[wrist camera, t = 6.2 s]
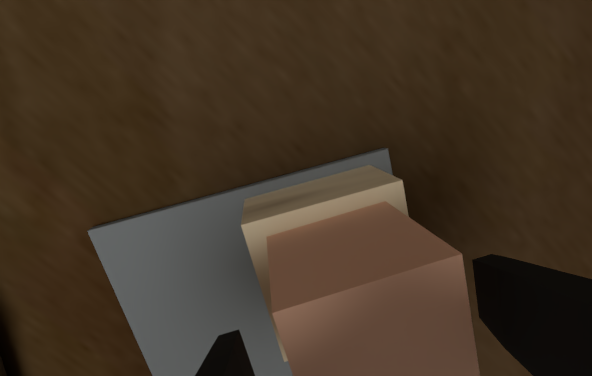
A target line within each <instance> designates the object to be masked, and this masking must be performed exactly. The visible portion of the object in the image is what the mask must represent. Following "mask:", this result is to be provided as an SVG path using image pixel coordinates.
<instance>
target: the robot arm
mask: <svg viewBox="0 0 592 376" xmlns="http://www.w3.org/2000/svg"><path fill="white" fill-rule="evenodd" d="M472 261H473V270H474V278H475V286H476V295H477V303H478V311H479V318H480V319H481V320H482V321H483V322H484V324H485V325H486V326H487V327H488V329H489V330H490V331H491V332H492V334H493V335H494V336H495V337H496V338H497V340H498V341H499V342H500V343H501V344H502V345H503V347H504V348H505V349H506V350H507V351H508V352H509V353H510V354H511V355H512V356H513V357H514V358H515V359H517V360H518V361H519V362H520V363H521V364H522V365H523V366H524V367H525V368H526V369H527V370H528V371H529V372H530V373H531V374H532V375H533V376H592V279H588V278H584V277H580V276H577V275H573V274H569V273H565V272H561V271H557V270H554V269H550V268H546V267H542V266H539V265H535V264H531V263H527V262H523V261H519V260H515V259H512V258H507V257H503V256H498V255H493V254H490V255H487V256H484V257H480V258H477V259H474V260H472ZM195 376H255V374H254V371H253V368H252V365H251V362H250V359H249V356H248V354H247V351H246V348H245V345H244V342H243V339H242V336H241V334H240V331H239V329H238V330H235V331H232V332H228V333H225V334H222V335H218V337H217V339H216V340H215V342H214V344H213V345H212V347H211V349H210V351H209V352H208V354H207V356H206V357H205V359H204V361H203V363H202V364H201V366H200V368H199V370H198V371H197V373H196V375H195Z"/></svg>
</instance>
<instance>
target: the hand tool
mask: <svg viewBox="0 0 592 376" xmlns="http://www.w3.org/2000/svg"><path fill="white" fill-rule="evenodd" d="M0 376H7V374H6V371H5V368H4V365H3V362H2V359H1V357H0Z"/></svg>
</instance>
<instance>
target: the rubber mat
mask: <svg viewBox="0 0 592 376" xmlns="http://www.w3.org/2000/svg"><path fill="white" fill-rule="evenodd" d="M367 165H371V166H373V167H375V168H378V169H380V170H382V171H384V172H386V173H388V174H391V175H393V174H392V169H391V163H390V158H389V152H388V149H387V148H381V149H377V150H374V151H370V152H366V153H363V154H359V155H355V156H352V157H348V158H344V159H341V160H337V161H333V162H330V163H326V164H322V165H319V166H315V167H311V168H308V169H304V170H300V171H297V172H293V173H289V174H286V175H282V176H278V177H275V178H271V179H267V180H264V181H260V182H256V183H253V184H249V185H245V186H242V187H238V188H234V189H231V190H227V191H223V192H220V193H216V194H212V195H209V196H205V197H201V198H198V199H194V200H190V201H187V202H183V203H179V204H176V205H172V206H168V207H165V208H161V209H157V210H154V211H150V212H146V213H143V214H139V215H135V216H132V217H128V218H124V219H121V220H117V221H113V222H110V223H106V224H102V225H99V226H95V227H92V228H91V229H89V230H88V231H87V232H88V234H89V236H90V238H91V240H92V243H93V245H94V247H95V249H96V252H97V254H98V256H99V258H100V260H101V263H102V265H103V267H104V269H105V271H106V274H107V276H108V278H109V280H110V283H111V285H112V287H113V289H114V291H115V294H116V296H117V298H118V300H119V302H120V305H121V307H122V309H123V311H124V314H125V316H126V318H127V320H128V322H129V325H130V327H131V329H132V331H133V333H134V336H135V338H136V340H137V342H138V345H139V347H140V349H141V351H142V353H143V356H144V358H145V360H146V362H147V364H148V367H149V369H150V371H151V373H152V376H195V375H196V373H197V371H198V370H199V368H200V366H201V364H202V363H203V361H204V359H205V357H206V356H207V354H208V352H209V351H210V349H211V347H212V345H213V344H214V342H215V340H216V339H217V337H218V335H222V334H225V333H228V332H232V331H235V330H238V329H239V331H240V334H241V336H242V339H243V342H244V345H245V348H246V351H247V354H248V356H249V359H250V362H251V365H252V368H253V371H254V374H255V376H293V374H292V371H291V368H290V365H289V362H288V361H286V362H284V360H283V357H282V353H281V350H280V347H279V344H278V341H277V338H276V335H275V331H274V328H273V325H272V322H271V319H270V316H269V312H268V309H267V306H266V303H265V300H264V297H263V293H262V290H261V287H260V284H259V281H258V278H257V275H256V271H255V268H254V265H253V262H252V259H251V256H250V252H249V249H248V246H247V243H246V240H245V237H244V233H243V230H242V227H241V221H242V214H243V207H244V200H245V199H247V198H251V197H254V196H258V195H262V194H265V193H269V192H272V191H276V190H280V189H283V188H287V187H291V186H294V185H298V184H301V183H305V182H309V181H312V180H316V179H320V178H323V177H327V176H331V175H334V174H338V173H341V172H345V171H349V170H352V169H356V168H360V167H363V166H367Z"/></svg>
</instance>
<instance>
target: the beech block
mask: <svg viewBox="0 0 592 376" xmlns="http://www.w3.org/2000/svg"><path fill="white" fill-rule="evenodd" d="M384 201H386V202H388V203H389V204H390V205H392V206H393V207H395V208H396V209H398V210H399V211H401V212H402V213H404V214H405V215H406V216H408V217H409V215H408V210H407V204H406V198H405V192H404V186H403V180H401V179H399V178H397V177H395V176H393V175H391V174H388V173H386V172H384V171H382V170H380V169H378V168H375V167H373V166H371V165H367V166H363V167H360V168H356V169H352V170H349V171H345V172H341V173H338V174H334V175H331V176H327V177H323V178H320V179H316V180H312V181H309V182H305V183H301V184H298V185H294V186H291V187H287V188H283V189H280V190H276V191H272V192H269V193H265V194H262V195H258V196H254V197H251V198H247V199H245V200H244V207H243V214H242V221H241V227H242V230H243V233H244V237H245V240H246V243H247V246H248V249H249V252H250V256H251V259H252V262H253V265H254V268H255V271H256V275H257V278H258V281H259V284H260V287H261V290H262V293H263V297H264V300H265V303H266V306H267V309H268V312H269V316H270V319H271V322H272V325H273V328H274V331H275V335H276V338H277V341H278V344H279V347H280V350H281V353H282V357H283V360H284V362H286V361H288V359H287V356H286V353H285V350H284V347H283V344H282V341H281V338H280V335H279V332H278V329H277V326H276V323H275V320H274V317H273V314H272V305H271V292H270V278H269V265H268V251H267V236H270V235H274V234H277V233H280V232H284V231H287V230H290V229H294V228H297V227H300V226H304V225H307V224H310V223H314V222H317V221H320V220H324V219H327V218H330V217H334V216H337V215H340V214H344V213H347V212H351V211H354V210H357V209H361V208H364V207H367V206H371V205H374V204H377V203H381V202H384Z"/></svg>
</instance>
